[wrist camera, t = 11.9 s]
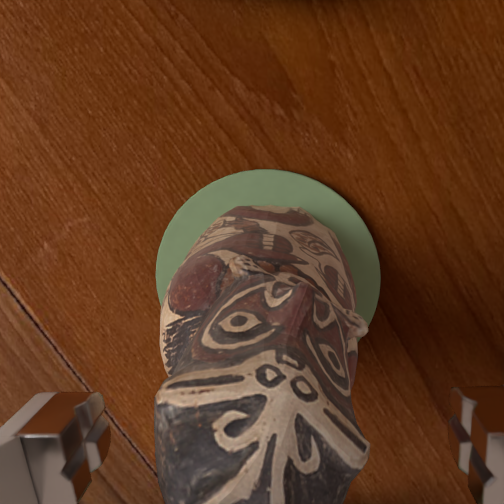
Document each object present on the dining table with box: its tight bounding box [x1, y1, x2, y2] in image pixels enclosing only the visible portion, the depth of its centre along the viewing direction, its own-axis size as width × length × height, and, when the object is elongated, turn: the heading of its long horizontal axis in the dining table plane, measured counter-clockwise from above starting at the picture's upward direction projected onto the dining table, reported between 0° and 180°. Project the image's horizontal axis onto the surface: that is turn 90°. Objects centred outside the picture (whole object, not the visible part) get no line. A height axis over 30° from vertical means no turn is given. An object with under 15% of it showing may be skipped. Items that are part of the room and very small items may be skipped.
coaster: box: [156, 169, 381, 343], centre depth 18 cm, size 10×10×1 cm
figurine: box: [154, 205, 370, 504], centre depth 12 cm, size 7×7×12 cm
